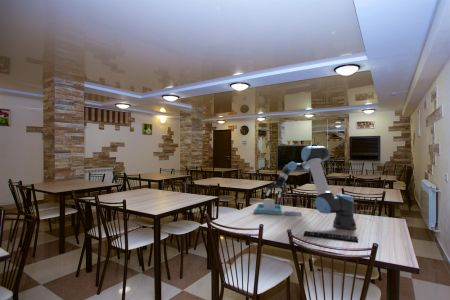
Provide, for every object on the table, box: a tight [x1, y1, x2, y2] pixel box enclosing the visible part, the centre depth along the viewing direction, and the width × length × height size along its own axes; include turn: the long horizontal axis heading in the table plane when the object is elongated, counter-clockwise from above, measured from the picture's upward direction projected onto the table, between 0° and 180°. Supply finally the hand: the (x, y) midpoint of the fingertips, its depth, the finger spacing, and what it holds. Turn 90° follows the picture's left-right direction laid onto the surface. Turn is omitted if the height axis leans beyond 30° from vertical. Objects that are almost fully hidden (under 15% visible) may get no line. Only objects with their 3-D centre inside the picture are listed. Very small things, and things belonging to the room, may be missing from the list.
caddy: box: [263, 198, 276, 210], centre depth 229 cm, size 7×7×10 cm
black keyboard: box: [303, 230, 359, 243], centre depth 163 cm, size 8×32×2 cm, turn 68°
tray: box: [254, 203, 283, 216], centre depth 229 cm, size 22×22×4 cm
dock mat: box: [284, 211, 303, 217], centre depth 218 cm, size 14×14×1 cm
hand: (272, 196), depth 233 cm, fingers open, 13 cm apart
